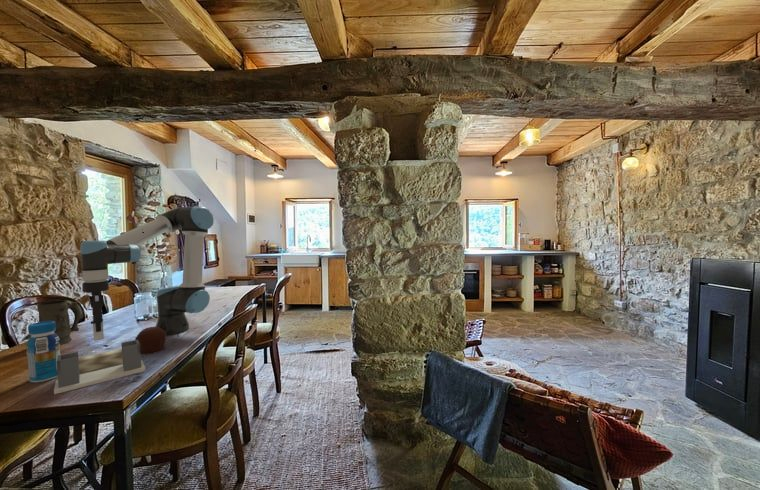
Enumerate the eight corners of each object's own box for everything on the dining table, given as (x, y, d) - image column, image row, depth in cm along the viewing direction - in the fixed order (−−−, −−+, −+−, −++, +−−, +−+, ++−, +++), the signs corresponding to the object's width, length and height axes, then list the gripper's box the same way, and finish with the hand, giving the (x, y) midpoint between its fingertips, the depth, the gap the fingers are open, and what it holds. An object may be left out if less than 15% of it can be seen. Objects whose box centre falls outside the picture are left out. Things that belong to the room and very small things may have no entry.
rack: (142, 362, 127) (140, 337, 126) (145, 370, 119) (143, 344, 119) (56, 383, 111) (54, 355, 110) (54, 394, 103) (51, 363, 103)
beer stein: (48, 348, 144) (48, 304, 144) (30, 347, 146) (30, 303, 146) (86, 339, 159) (86, 298, 159) (69, 337, 161) (69, 298, 161)
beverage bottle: (21, 383, 111) (16, 327, 110) (46, 372, 119) (42, 320, 118) (45, 383, 111) (41, 326, 110) (69, 372, 119) (65, 319, 118)
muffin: (132, 351, 139) (131, 328, 138) (161, 343, 148) (160, 322, 147) (141, 357, 132) (140, 334, 131) (171, 349, 141) (170, 327, 140)
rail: (128, 359, 131) (127, 347, 131) (129, 362, 128) (128, 350, 128) (71, 372, 119) (70, 359, 119) (70, 376, 117) (69, 362, 116)
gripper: (82, 278, 128) (85, 330, 129) (81, 286, 110) (85, 346, 111) (106, 276, 134) (109, 326, 134) (110, 283, 115) (113, 341, 116)
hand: (98, 335), depth 123 cm, fingers open, 13 cm apart
